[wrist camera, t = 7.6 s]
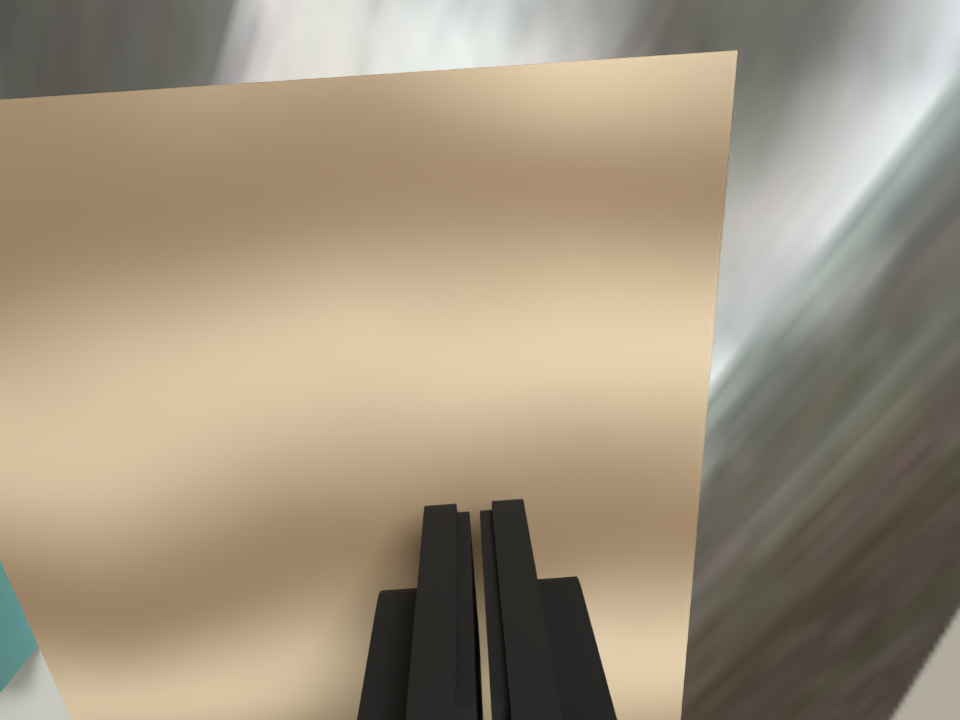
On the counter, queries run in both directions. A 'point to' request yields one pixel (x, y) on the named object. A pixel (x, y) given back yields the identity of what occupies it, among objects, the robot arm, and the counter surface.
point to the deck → (352, 367)
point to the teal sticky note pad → (12, 632)
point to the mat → (32, 693)
